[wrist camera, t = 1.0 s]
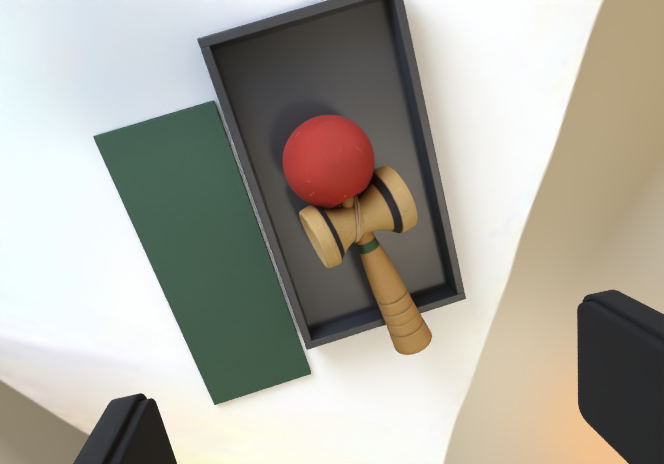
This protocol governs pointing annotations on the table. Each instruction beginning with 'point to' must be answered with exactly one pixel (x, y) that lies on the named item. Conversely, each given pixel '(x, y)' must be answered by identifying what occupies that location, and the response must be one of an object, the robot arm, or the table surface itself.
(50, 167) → the table surface
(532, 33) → the table surface
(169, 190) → the mat
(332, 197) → the kendama
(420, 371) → the table surface
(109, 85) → the table surface
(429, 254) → the dark grey flat tray
